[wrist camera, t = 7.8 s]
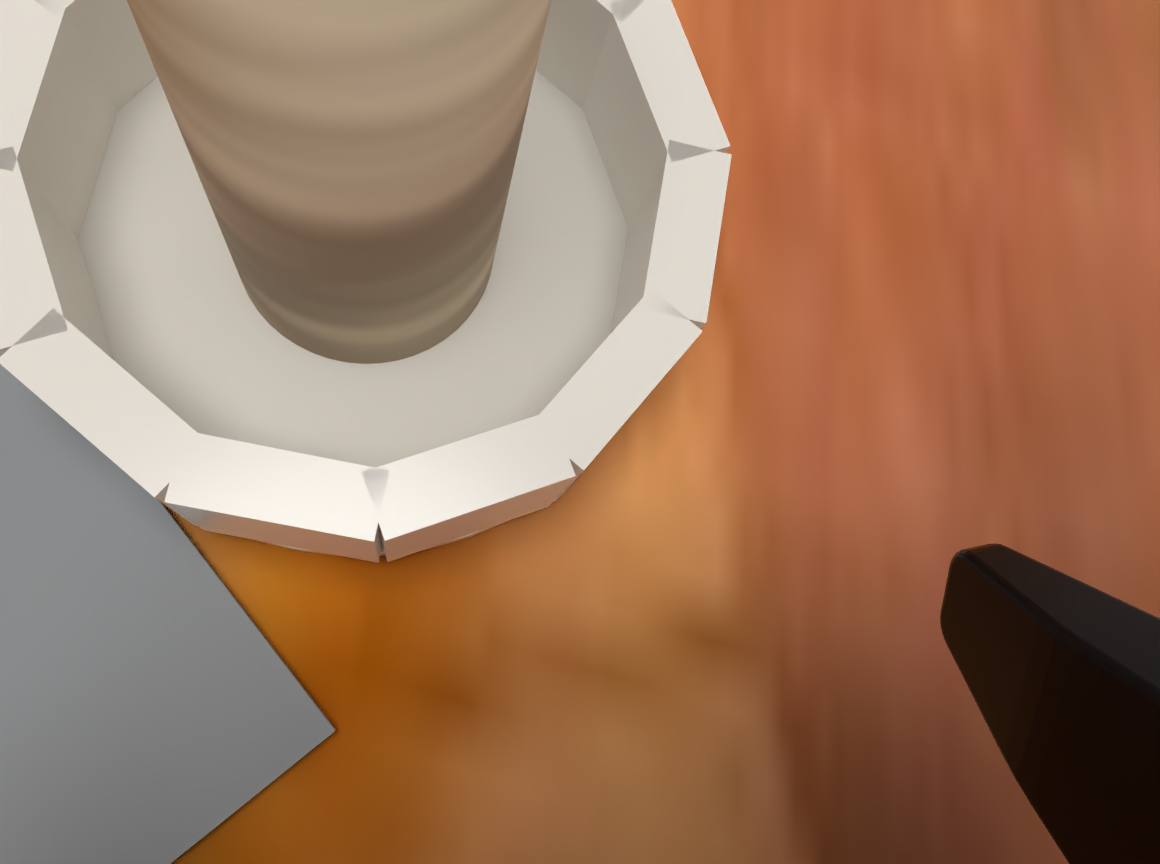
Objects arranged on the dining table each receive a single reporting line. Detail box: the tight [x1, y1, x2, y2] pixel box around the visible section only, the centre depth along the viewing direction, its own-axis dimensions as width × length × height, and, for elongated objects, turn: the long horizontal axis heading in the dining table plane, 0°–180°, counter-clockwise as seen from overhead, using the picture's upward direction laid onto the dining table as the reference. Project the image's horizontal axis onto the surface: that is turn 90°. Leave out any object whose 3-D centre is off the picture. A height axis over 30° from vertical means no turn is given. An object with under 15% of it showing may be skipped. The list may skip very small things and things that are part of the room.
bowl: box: [0, 0, 731, 563], centre depth 18 cm, size 11×11×4 cm
